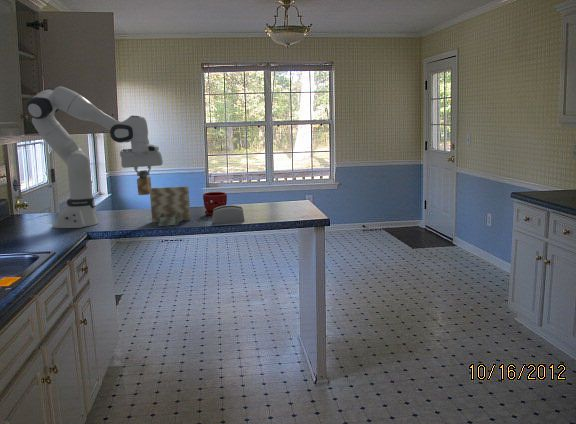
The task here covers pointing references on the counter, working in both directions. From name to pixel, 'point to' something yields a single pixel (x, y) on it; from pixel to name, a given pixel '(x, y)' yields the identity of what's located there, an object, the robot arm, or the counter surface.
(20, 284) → the counter surface
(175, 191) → the patterned box
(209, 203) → the plant pot
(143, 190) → the brown bottle
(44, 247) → the counter surface
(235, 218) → the grey arched block
